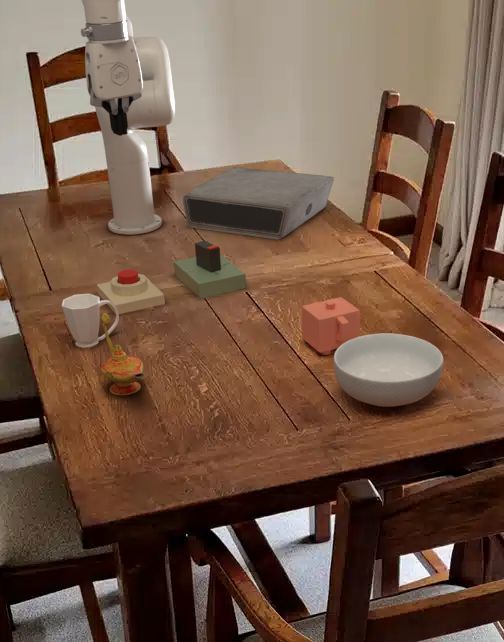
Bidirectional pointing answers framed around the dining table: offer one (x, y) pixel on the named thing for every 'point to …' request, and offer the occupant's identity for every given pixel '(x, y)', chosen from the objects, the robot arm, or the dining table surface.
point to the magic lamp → (121, 368)
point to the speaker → (256, 202)
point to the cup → (85, 318)
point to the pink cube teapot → (330, 324)
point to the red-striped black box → (208, 256)
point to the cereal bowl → (387, 368)
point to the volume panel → (209, 277)
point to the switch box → (131, 294)
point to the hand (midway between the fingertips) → (120, 133)
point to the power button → (128, 277)
